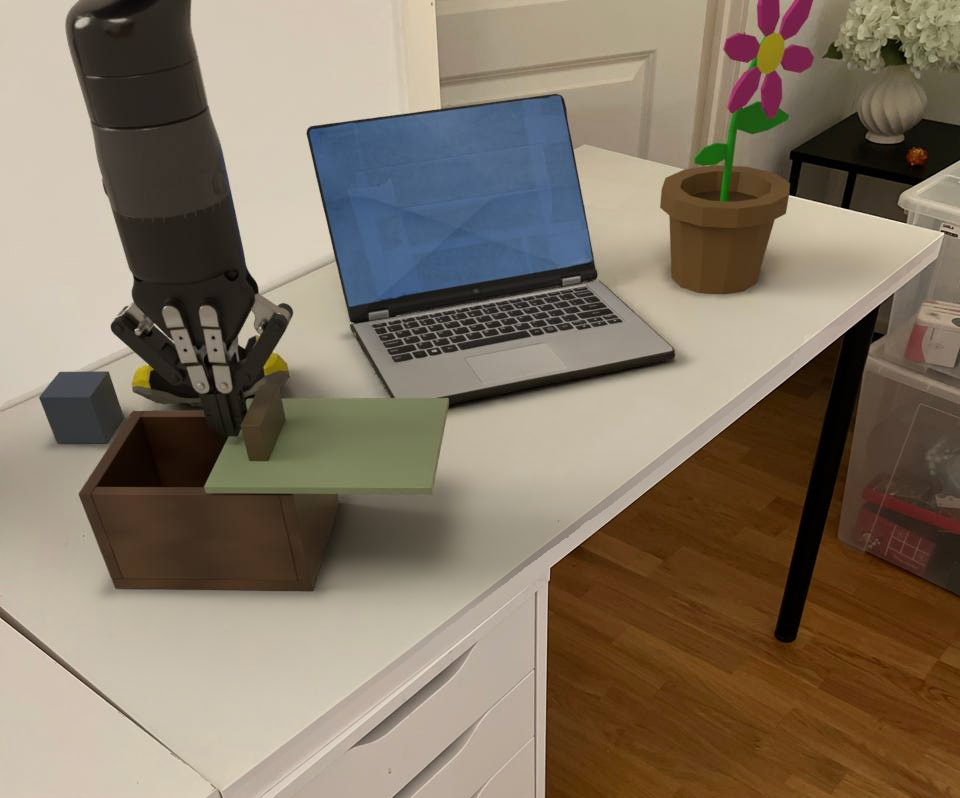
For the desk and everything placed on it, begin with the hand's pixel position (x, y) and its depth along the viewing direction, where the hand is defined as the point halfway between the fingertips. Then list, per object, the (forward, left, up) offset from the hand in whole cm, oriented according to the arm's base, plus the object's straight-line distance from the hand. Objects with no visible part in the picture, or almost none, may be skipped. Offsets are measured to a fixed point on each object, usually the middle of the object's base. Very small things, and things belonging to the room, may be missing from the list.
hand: (230, 431), depth 73 cm
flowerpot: (+43, +53, -11) cm, 69 cm away
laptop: (+17, +40, -11) cm, 45 cm away
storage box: (-2, 0, -11) cm, 11 cm away
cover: (+8, 0, -1) cm, 8 cm away
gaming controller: (-10, +24, -11) cm, 29 cm away
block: (-21, +18, -11) cm, 30 cm away
